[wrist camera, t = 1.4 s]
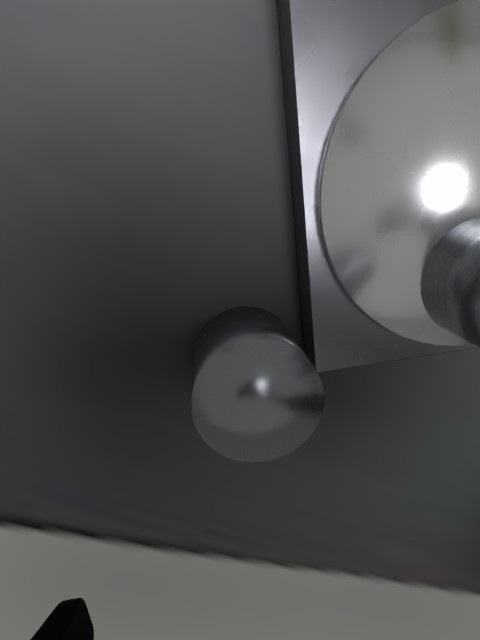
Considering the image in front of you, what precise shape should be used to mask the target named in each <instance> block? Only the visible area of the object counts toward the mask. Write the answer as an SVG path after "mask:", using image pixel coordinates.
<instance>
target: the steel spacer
mask: <svg viewBox="0 0 480 640" xmlns="http://www.w3.org/2000/svg"><path fill="white" fill-rule="evenodd" d="M323 408H324V389H323V385H322V382H321V379H320V377H319V375H318V373H317V371H316V370H315V368H314V367H313V365H312V364H311V362H310V361H309V359H308V358H307V356H306V355H305V353H304V352H303V350H302V349H301V347H300V346H299V344H298V343H297V341H296V340H295V338H294V337H293V335H292V334H291V332H290V331H289V329H288V328H287V326H286V325H285V324H284V323H283V322H282V320H280V319H279V318H278V317H277V316H275V315H274V314H272V313H271V312H268V311H266V310H264V309H260V308H256V307H237V308H232V309H229V310H227V311H224V312H222V313H220V314H219V315H217V316H216V317H214V318H213V319H212V320H211V321H209V322H208V323H207V325H206V326H205V327H204V328H203V330H202V331H201V333H200V335H199V337H198V339H197V343H196V347H195V355H194V371H193V387H192V404H191V410H192V417H193V421H194V424H195V427H196V429H197V431H198V433H199V435H200V436H201V438H202V439H203V440H204V441H205V442H206V444H207V445H209V446H210V447H211V448H212V449H213V450H215V451H216V452H218V453H219V454H221V455H223V456H225V457H227V458H230V459H233V460H237V461H241V462H266V461H271V460H275V459H278V458H280V457H283V456H285V455H287V454H289V453H291V452H293V451H294V450H296V449H297V448H299V447H300V446H301V445H302V444H303V443H304V442H305V441H306V440H307V439H308V438H309V437H310V436H311V435H312V433H313V432H314V431H315V429H316V427H317V426H318V424H319V421H320V419H321V416H322V413H323Z"/></svg>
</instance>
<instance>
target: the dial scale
mask: <svg viewBox="0 0 480 640" xmlns="http://www.w3.org/2000/svg"><path fill="white" fill-rule="evenodd" d="M277 9H278V22H279V34H280V47H281V59H282V72H283V84H284V97H285V109H286V122H287V134H288V147H289V159H290V172H291V184H292V197H293V209H294V222H295V234H296V247H297V259H298V272H299V284H300V297H301V309H302V322H303V334H304V347H305V355H306V356H307V358H308V359H309V361H310V362H311V364H312V365H313V367H314V368H315V370H316V371H317V372H322V371H329V370H335V369H342V368H348V367H355V366H361V365H367V364H374V363H380V362H387V361H393V360H400V359H406V358H412V357H419V356H425V355H432V354H438V353H445V352H451V351H457V350H464V349H470V348H477V347H478V346H476V345H474V344H472V343H470V342H468V341H466V340H465V339H463V338H461V337H459V336H457V335H455V334H453V333H451V332H449V331H447V330H445V329H443V328H442V327H440V326H439V325H437V324H436V323H435V322H434V321H433V320H432V319H431V318H430V316H429V315H428V313H427V312H426V310H425V308H424V305H423V302H422V297H421V287H420V286H421V277H422V272H423V268H424V265H425V263H426V260H427V258H428V256H429V254H430V253H431V251H432V249H433V248H434V247H435V245H436V244H437V243H438V241H439V240H440V239H441V238H442V237H443V236H444V235H445V234H446V233H448V232H449V231H450V230H451V229H453V228H454V227H456V226H457V225H459V224H461V223H463V222H465V221H468V220H471V219H474V218H478V217H480V0H277Z"/></svg>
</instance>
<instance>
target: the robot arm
mask: <svg viewBox="0 0 480 640" xmlns="http://www.w3.org/2000/svg"><path fill="white" fill-rule="evenodd" d="M31 640H94V630H93V624H92V621H91V618H90V615H89V613H88V609H87V606H86V603H85V602H84V600H83V599H82V598H76V599H70V600H65V601H62V602H61V603H59V604H58V606H57V607H56V608H55V609H54V610H53V612H52V613H51V614H50V615H49V617H48V618H47V619H46V621H45V622H44V623H43V625H42V626H41V627H40V628H39V630H38V631H37V632H36V633H35V635H34V636H33V637H32V639H31Z"/></svg>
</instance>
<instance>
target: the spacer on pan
mask: <svg viewBox="0 0 480 640" xmlns="http://www.w3.org/2000/svg"><path fill="white" fill-rule="evenodd" d="M420 287H421V297H422V302H423V305H424V308H425V310H426V312H427V313H428V315H429V316H430V318H431V319H432V320H433V321H434V322H435V323H436V324H437V325H439V326H440V327H442V328H443V329H445V330H447V331H449V332H451V333H453V334H455V335H457V336H459V337H461V338H463V339H465V340H466V341H468V342H470V343H472V344H474V345H476V346H478V347H480V217H478V218H474V219H471V220H468V221H465V222H463V223H461V224H459V225H457V226H456V227H454V228H453V229H451V230H450V231H449V232H448V233H446V234H445V235H444V236H443V237H442V238H441V239H440V240H439V241H438V243H437V244H436V245H435V247H434V248H433V249H432V251H431V253H430V254H429V256H428V258H427V260H426V263H425V265H424V268H423V272H422V277H421V286H420Z"/></svg>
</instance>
